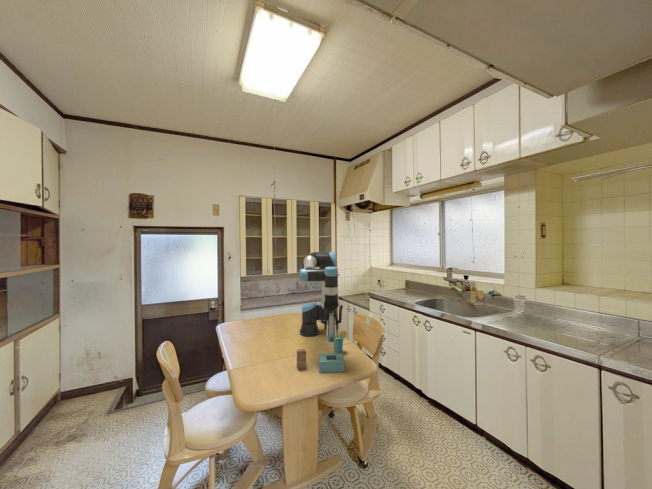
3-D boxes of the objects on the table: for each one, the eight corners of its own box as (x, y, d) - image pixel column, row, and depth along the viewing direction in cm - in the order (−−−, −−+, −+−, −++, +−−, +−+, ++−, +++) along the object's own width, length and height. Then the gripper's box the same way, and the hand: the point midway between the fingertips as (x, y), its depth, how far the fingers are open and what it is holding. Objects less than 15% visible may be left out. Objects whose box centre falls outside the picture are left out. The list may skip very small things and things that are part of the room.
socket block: (318, 364, 148) (318, 353, 148) (342, 363, 149) (342, 353, 149) (319, 372, 138) (319, 362, 138) (344, 372, 139) (344, 361, 139)
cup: (330, 357, 156) (330, 333, 156) (324, 353, 163) (324, 329, 162) (349, 353, 163) (349, 329, 163) (342, 348, 170) (342, 326, 169)
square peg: (296, 366, 145) (296, 349, 145) (304, 365, 146) (304, 348, 146) (298, 370, 141) (298, 352, 141) (306, 369, 142) (306, 351, 142)
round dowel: (327, 339, 145) (327, 313, 145) (334, 339, 145) (334, 313, 145) (327, 342, 141) (327, 315, 141) (335, 342, 141) (335, 315, 141)
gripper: (316, 295, 139) (316, 337, 139) (347, 295, 140) (347, 337, 140) (316, 293, 146) (316, 333, 146) (345, 292, 147) (345, 332, 147)
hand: (331, 335), depth 143 cm, fingers closed on round dowel, 4 cm apart
